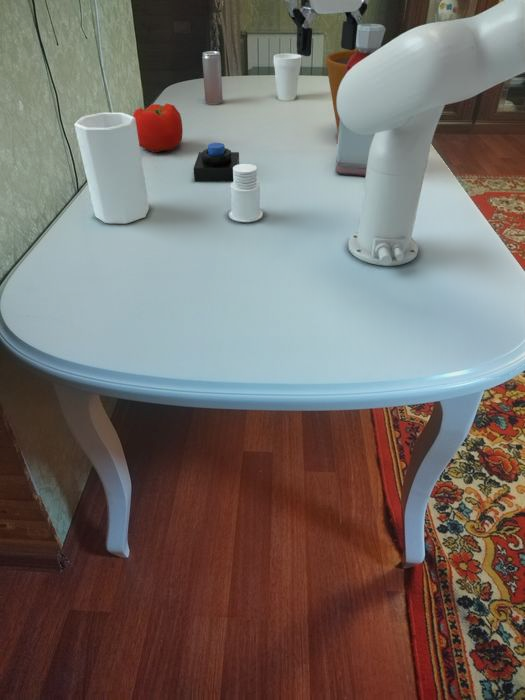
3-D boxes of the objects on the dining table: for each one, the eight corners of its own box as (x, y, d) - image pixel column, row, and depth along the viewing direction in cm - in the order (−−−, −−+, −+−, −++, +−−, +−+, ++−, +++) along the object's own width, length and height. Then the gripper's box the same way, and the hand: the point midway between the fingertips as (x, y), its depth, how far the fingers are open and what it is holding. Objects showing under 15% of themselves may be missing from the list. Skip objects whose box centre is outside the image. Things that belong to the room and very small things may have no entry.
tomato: (151, 160, 131) (145, 117, 124) (127, 147, 138) (120, 106, 132) (195, 149, 137) (192, 107, 130) (170, 137, 145) (165, 97, 138)
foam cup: (269, 96, 180) (270, 54, 172) (294, 94, 182) (295, 52, 174) (278, 102, 173) (279, 59, 165) (303, 100, 175) (305, 57, 167)
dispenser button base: (236, 181, 119) (236, 160, 116) (194, 181, 120) (192, 160, 116) (239, 164, 128) (238, 144, 125) (199, 164, 128) (198, 144, 125)
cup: (92, 206, 109) (71, 115, 97) (144, 199, 112) (129, 109, 100) (98, 228, 101) (76, 131, 89) (154, 219, 104) (140, 125, 92)
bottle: (374, 178, 121) (394, 30, 101) (331, 175, 122) (343, 29, 103) (376, 157, 132) (395, 21, 112) (336, 155, 133) (348, 20, 114)
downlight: (268, 220, 103) (269, 172, 97) (236, 226, 101) (234, 177, 95) (254, 205, 109) (254, 158, 103) (223, 210, 107) (221, 163, 101)
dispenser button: (224, 156, 119) (223, 148, 118) (207, 156, 119) (206, 148, 118) (225, 151, 122) (225, 142, 121) (209, 151, 122) (208, 142, 121)
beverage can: (203, 101, 175) (199, 51, 165) (219, 99, 177) (216, 50, 167) (208, 105, 171) (205, 55, 161) (225, 103, 173) (223, 53, 163)
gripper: (304, -78, 70) (298, 61, 81) (394, -78, 78) (378, 50, 89) (273, -78, 75) (272, 53, 86) (361, -78, 82) (350, 43, 93)
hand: (326, 51), depth 87 cm, fingers open, 9 cm apart
